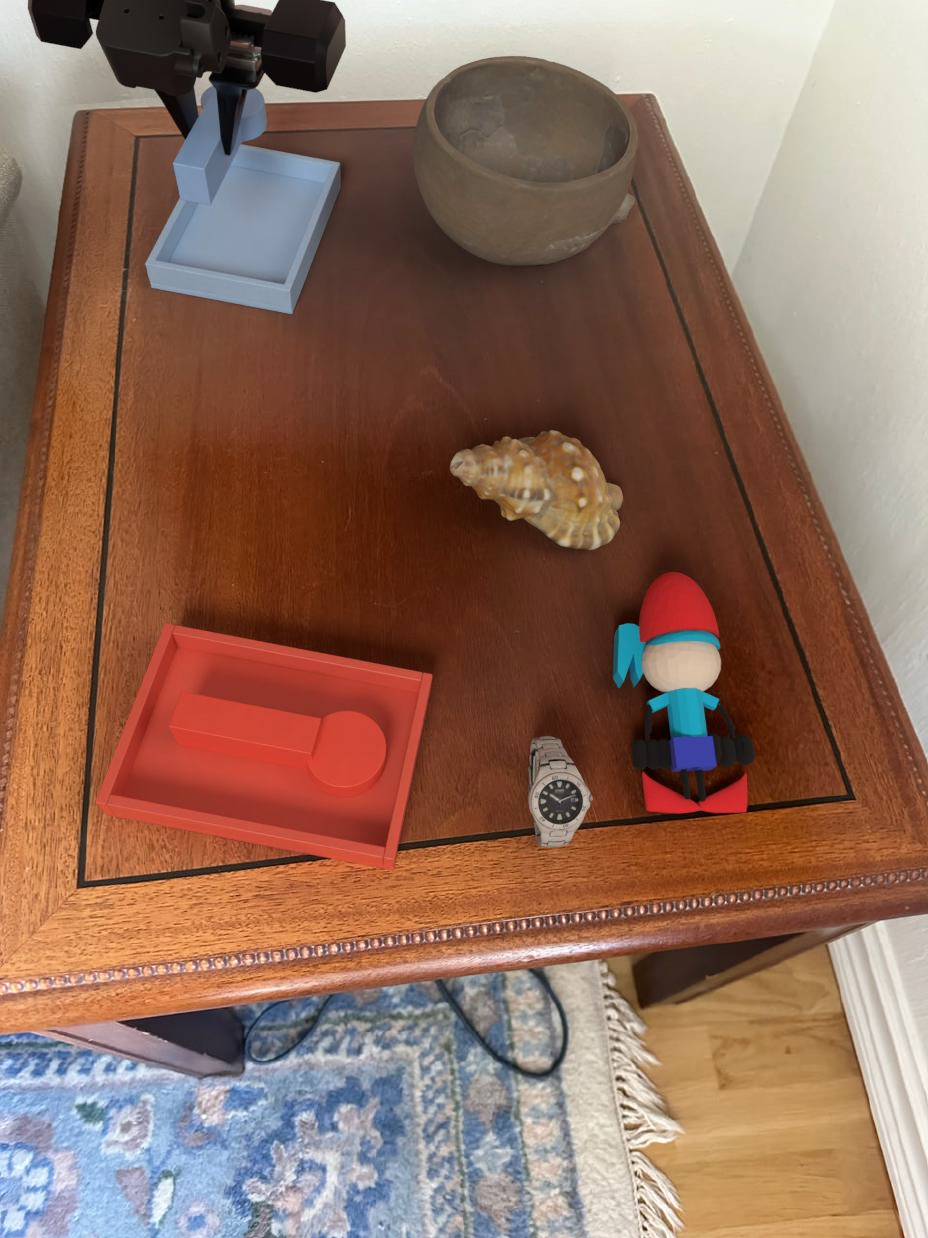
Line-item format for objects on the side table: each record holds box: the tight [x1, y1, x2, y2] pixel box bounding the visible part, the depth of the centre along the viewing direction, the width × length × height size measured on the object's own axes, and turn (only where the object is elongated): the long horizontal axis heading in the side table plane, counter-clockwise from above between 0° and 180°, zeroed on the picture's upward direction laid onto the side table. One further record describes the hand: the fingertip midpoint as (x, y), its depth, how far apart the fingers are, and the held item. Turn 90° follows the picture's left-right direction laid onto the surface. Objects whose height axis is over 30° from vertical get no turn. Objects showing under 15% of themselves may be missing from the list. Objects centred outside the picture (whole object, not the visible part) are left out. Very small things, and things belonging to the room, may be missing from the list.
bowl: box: [411, 55, 639, 267], centre depth 73 cm, size 17×18×10 cm
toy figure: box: [612, 571, 756, 814], centre depth 55 cm, size 8×5×15 cm
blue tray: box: [144, 143, 342, 315], centre depth 73 cm, size 16×11×2 cm
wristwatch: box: [527, 735, 594, 849], centre depth 50 cm, size 4×6×5 cm, turn 4°
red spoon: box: [169, 691, 386, 797], centre depth 51 cm, size 12×5×3 cm, turn 80°
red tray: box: [95, 622, 434, 871], centre depth 52 cm, size 16×11×2 cm
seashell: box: [449, 429, 624, 551], centre depth 60 cm, size 9×8×10 cm
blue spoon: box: [172, 85, 268, 205], centre depth 65 cm, size 12×5×3 cm, turn 170°
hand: (212, 148), depth 64 cm, fingers closed on blue spoon, 2 cm apart
